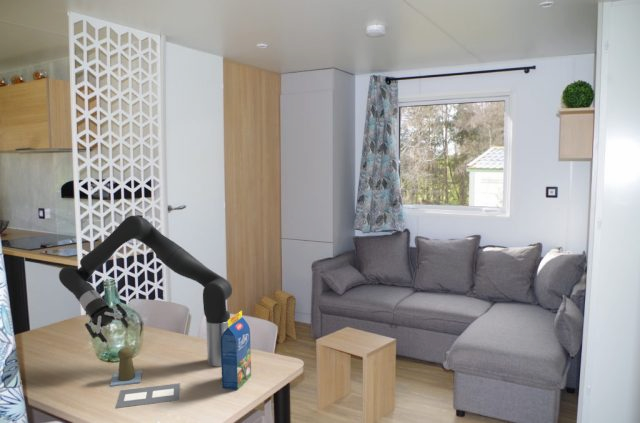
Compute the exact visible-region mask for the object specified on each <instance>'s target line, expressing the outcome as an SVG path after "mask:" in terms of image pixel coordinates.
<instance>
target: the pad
mask: <svg viewBox="0 0 640 423" xmlns="http://www.w3.org/2000/svg"><path fill="white" fill-rule="evenodd" d="M134 371H135V378H134V379H132V380H128V381H119V380H118V372H117V373H113V376H112V379H111V381H110V384H109V386H110V387H117V386H125V385H126V386H127V385H133V384H140V383H141V379H142V375H143V370H134Z"/></svg>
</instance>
